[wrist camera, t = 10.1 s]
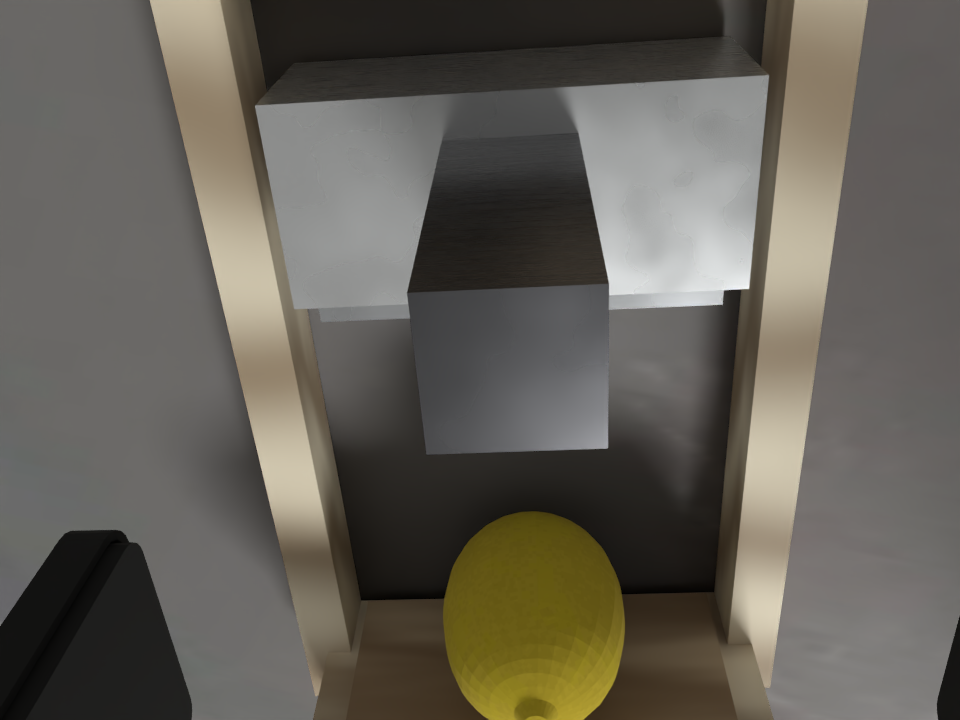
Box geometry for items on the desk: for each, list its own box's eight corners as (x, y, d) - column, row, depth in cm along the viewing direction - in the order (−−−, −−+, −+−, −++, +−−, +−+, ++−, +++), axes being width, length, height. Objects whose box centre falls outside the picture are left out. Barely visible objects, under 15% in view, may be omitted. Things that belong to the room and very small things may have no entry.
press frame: (753, 638, 34) (815, 848, 27) (328, 647, 35) (282, 851, 28) (855, -184, 20) (1030, -187, 13) (158, -131, 21) (-12, -107, 14)
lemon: (637, 553, 32) (671, 756, 25) (497, 604, 33) (492, 809, 26) (569, 439, 29) (586, 628, 22) (421, 499, 31) (394, 694, 24)
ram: (715, 244, 25) (843, 516, 15) (327, 263, 26) (212, 534, 16) (730, 36, 22) (899, 205, 13) (293, 63, 23) (128, 243, 13)
